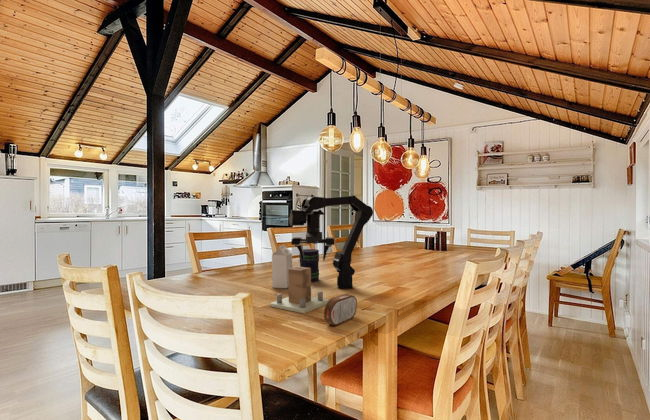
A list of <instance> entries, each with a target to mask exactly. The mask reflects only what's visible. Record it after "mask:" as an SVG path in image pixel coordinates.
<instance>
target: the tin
mask: <svg viewBox="0 0 650 420" xmlns="http://www.w3.org/2000/svg"><path fill="white" fill-rule="evenodd" d="M356 297H357V296H355V295H353V294H349V293H344V294H341V295H340V294H339V295H337V296H334V297H331V298H330V299H328V300H329V301H328V302H327V304H325V305H324V310H323V319H324V321H325V323H326V324H329V325H332V326H338V325H340V324H343V323H345V322H348V321H349V320H352V319H353V318H354V316H355V315H356V313H357V308H358V300H357V298H356Z"/></svg>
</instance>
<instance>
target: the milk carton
mask: <svg viewBox="0 0 650 420" xmlns="http://www.w3.org/2000/svg"><path fill="white" fill-rule="evenodd" d="M290 268H293V253H292V252H291V251H290V250H289V248H287V247H286V244H282V245H279V246H278V249H277V250H275V251H274V252H273V253H272V254H271V288H275V289H289V269H290Z"/></svg>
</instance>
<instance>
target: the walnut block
mask: <svg viewBox="0 0 650 420" xmlns="http://www.w3.org/2000/svg"><path fill="white" fill-rule="evenodd" d="M288 297H289V302H291V303H296V304H300V298H305V299H306V303H307V302H309V301H311V297H312V282H311V268H307V267H300V266H295V267H292V268H290V269H289V287H288Z"/></svg>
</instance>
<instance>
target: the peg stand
mask: <svg viewBox="0 0 650 420" xmlns="http://www.w3.org/2000/svg"><path fill="white" fill-rule="evenodd" d="M323 296H324V293H323V291H317V297H316V296H311V301H309V302H307V303H306V299H305V298H300V304H296V303H291V302H289V296H286V297H284V298H283V294H282V293H277V294H276V300H275V301H272V302H269V307H271V308H277V309H280V310H286V311H289V312H290V311H291V312H296V313H301V314H306V313H308V312H311V311H313V310H316V309H318V308H320V307H323V306H326V304H327V302H328V301H329V300H330V299H328V298H324V297H323Z"/></svg>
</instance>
